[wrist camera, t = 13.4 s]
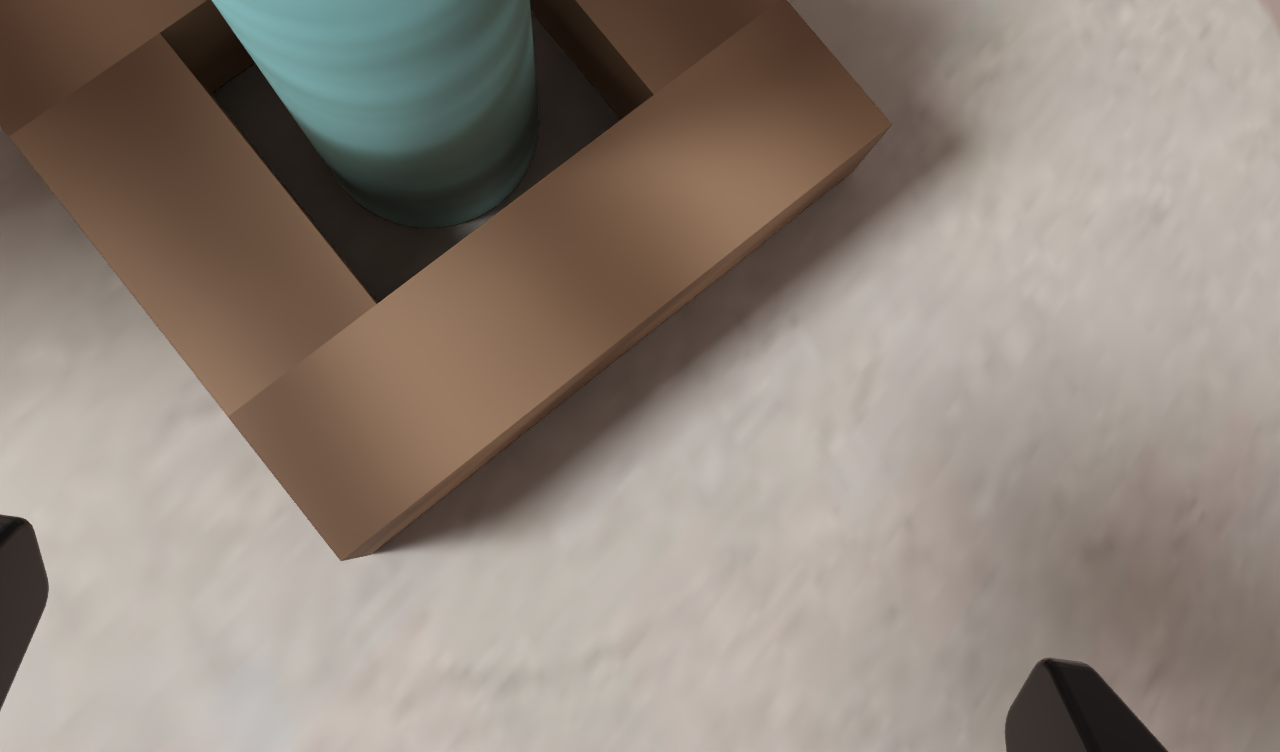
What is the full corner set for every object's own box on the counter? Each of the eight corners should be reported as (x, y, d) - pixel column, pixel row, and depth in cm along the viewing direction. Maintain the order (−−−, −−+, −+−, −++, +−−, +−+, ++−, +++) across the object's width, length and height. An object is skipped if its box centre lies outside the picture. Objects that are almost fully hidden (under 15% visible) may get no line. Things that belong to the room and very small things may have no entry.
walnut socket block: (370, 554, 23) (340, 561, 20) (-13, 66, 23) (-98, 0, 20) (852, 171, 24) (891, 124, 21) (482, -269, 25) (471, -373, 22)
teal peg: (507, 252, 24) (462, 64, 14) (291, 195, 23) (89, -37, 14) (563, 50, 24) (559, -266, 14) (354, -6, 24) (206, -364, 14)
